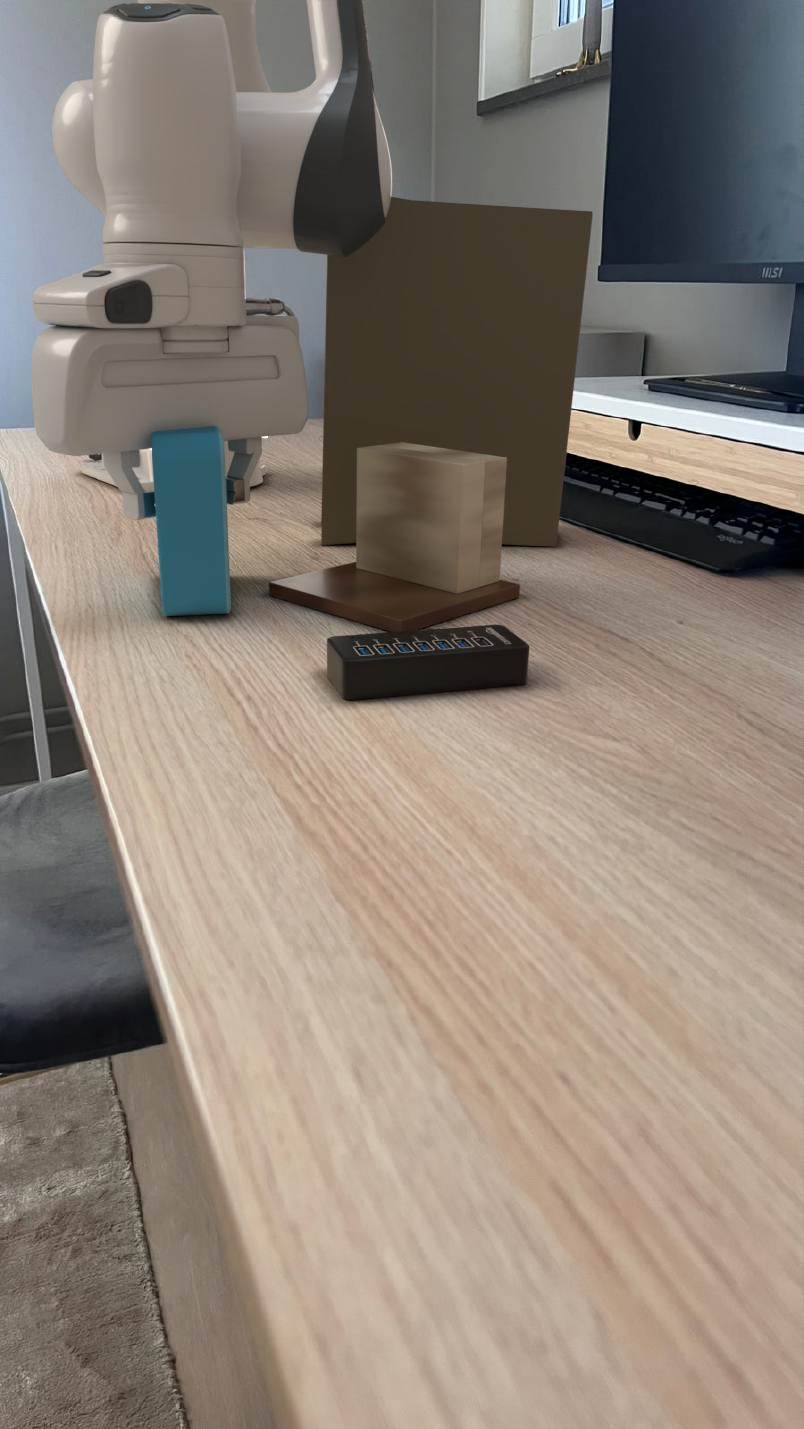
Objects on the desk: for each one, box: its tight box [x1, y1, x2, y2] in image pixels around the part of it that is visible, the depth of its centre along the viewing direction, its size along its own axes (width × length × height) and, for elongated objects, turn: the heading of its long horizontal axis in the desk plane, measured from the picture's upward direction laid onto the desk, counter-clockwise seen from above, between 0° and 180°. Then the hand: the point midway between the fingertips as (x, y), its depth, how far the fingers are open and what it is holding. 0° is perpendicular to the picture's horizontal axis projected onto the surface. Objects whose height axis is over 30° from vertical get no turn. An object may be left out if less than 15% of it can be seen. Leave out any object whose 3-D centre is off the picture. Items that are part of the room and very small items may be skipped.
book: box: [320, 196, 594, 548], centre depth 90 cm, size 22×9×28 cm, turn 94°
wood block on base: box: [268, 442, 521, 632], centre depth 74 cm, size 13×13×10 cm
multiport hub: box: [326, 624, 531, 701], centre depth 59 cm, size 4×11×2 cm, turn 107°
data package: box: [151, 426, 232, 617], centre depth 72 cm, size 12×4×12 cm, turn 13°
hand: (188, 510), depth 72 cm, fingers closed on data package, 7 cm apart
